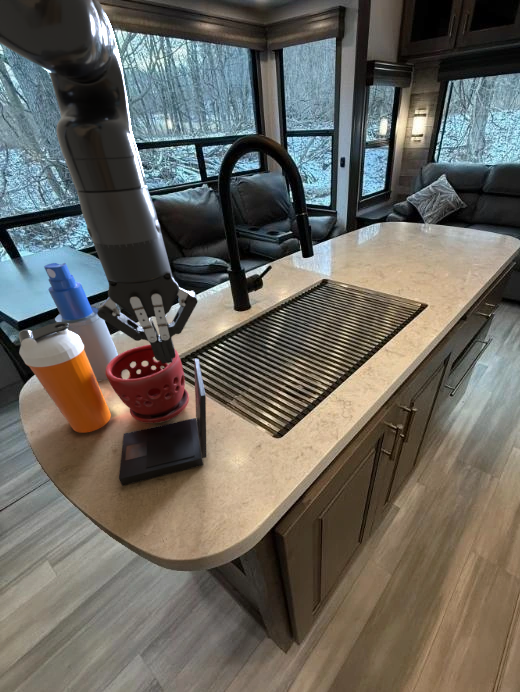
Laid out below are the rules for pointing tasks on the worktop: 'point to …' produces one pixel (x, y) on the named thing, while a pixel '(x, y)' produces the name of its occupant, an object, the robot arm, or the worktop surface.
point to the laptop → (160, 451)
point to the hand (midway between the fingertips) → (167, 360)
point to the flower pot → (149, 385)
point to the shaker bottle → (65, 375)
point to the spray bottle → (81, 318)
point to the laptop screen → (200, 407)
